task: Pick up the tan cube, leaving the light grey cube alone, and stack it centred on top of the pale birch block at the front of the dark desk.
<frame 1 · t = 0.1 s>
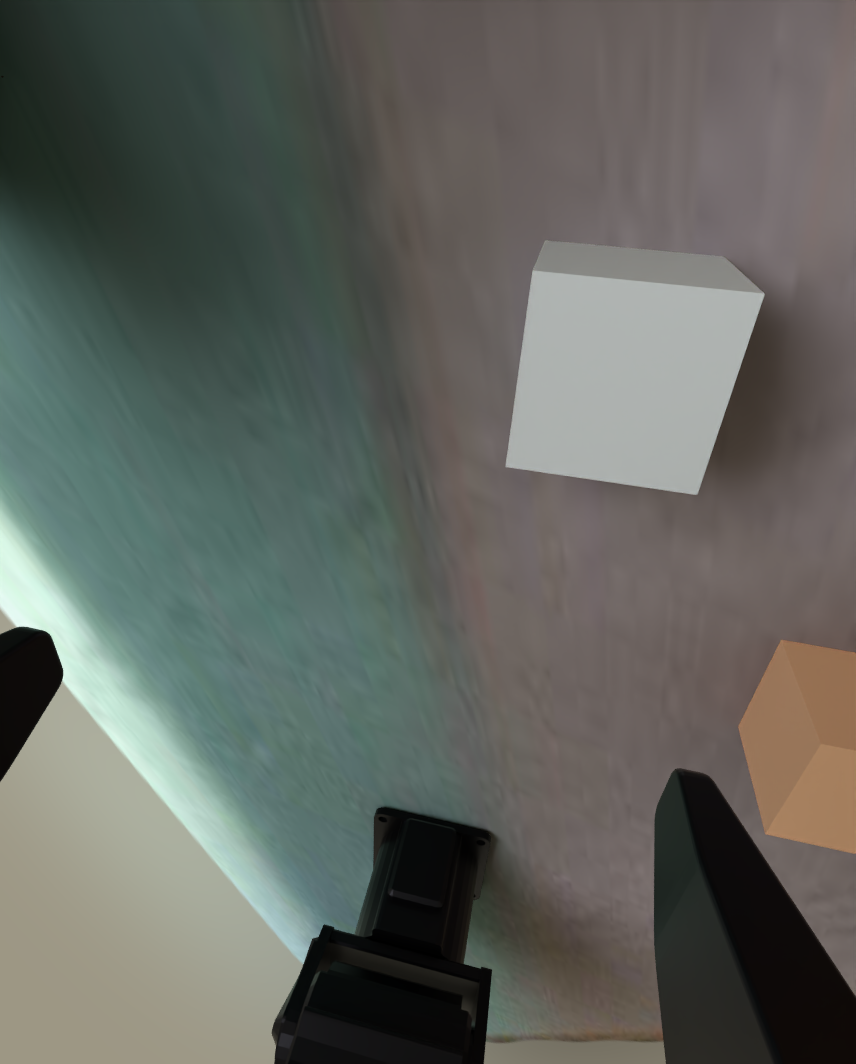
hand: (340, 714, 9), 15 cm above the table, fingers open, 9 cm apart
tan cube: (824, 696, 25), on the table
light grey cube: (613, 335, 19), on the table
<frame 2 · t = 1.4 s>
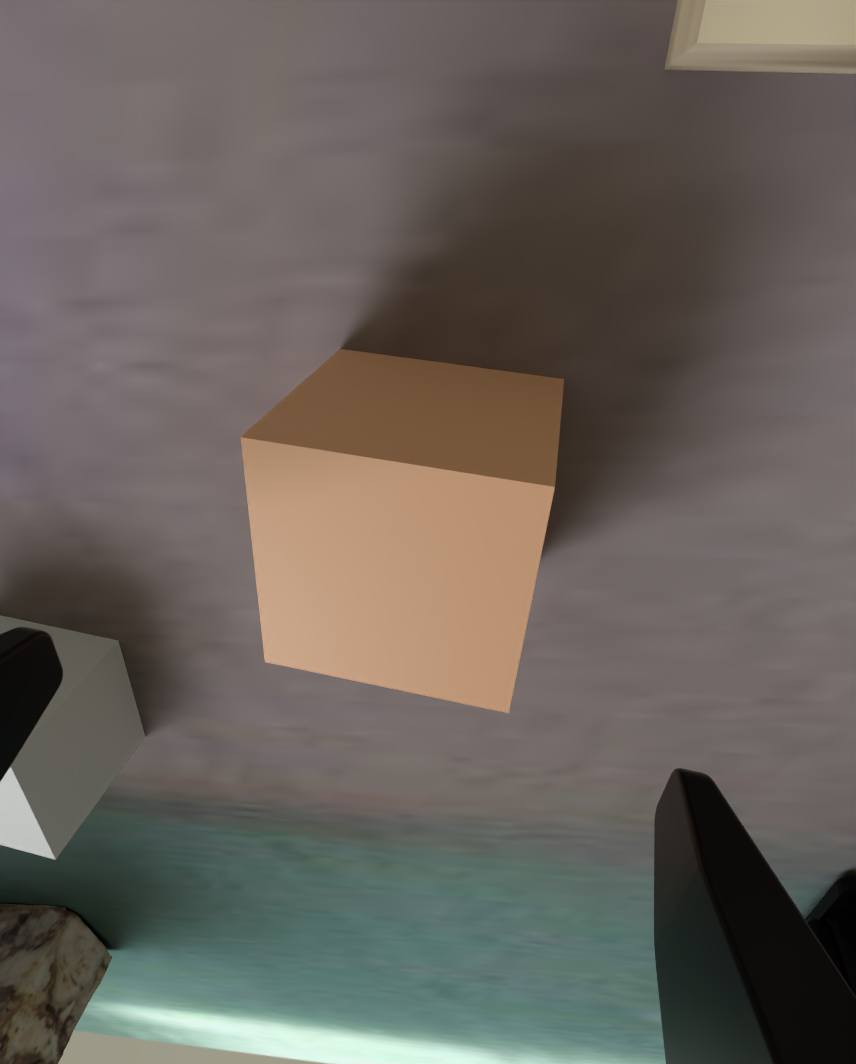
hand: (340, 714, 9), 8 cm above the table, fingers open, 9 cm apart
tan cube: (441, 463, 15), on the table
light grey cube: (72, 675, 23), on the table
stone block: (23, 921, 38), on the table
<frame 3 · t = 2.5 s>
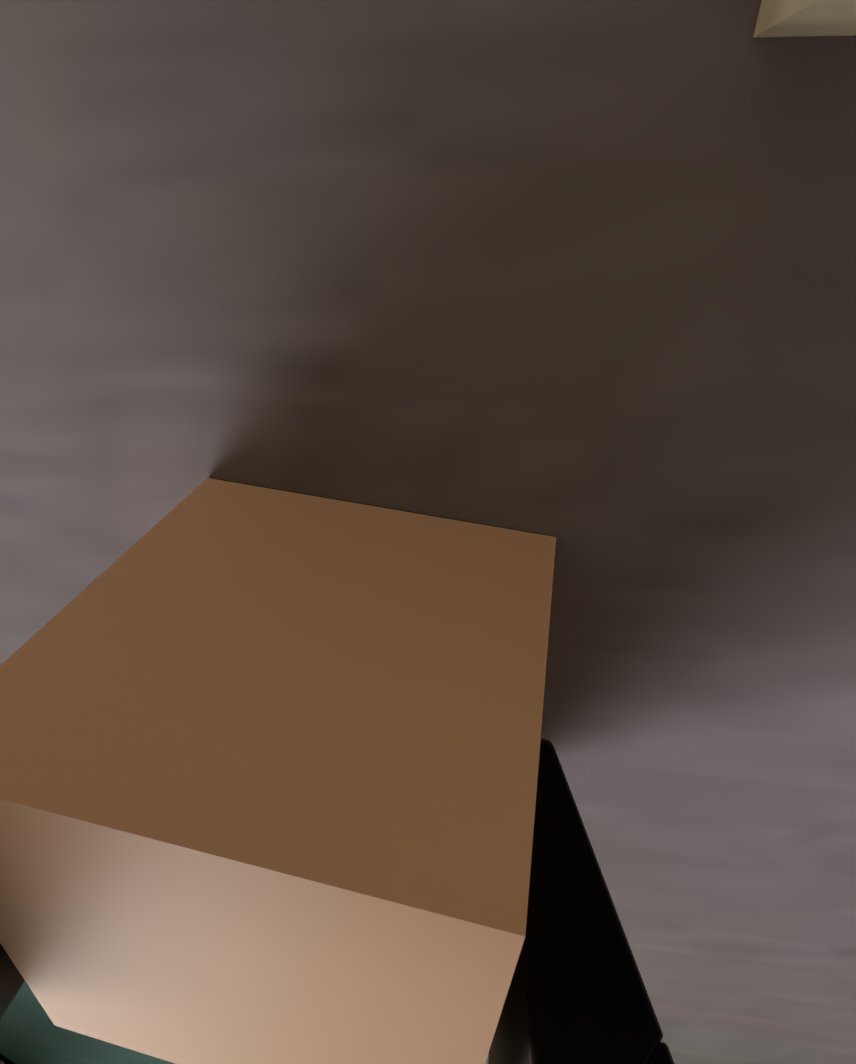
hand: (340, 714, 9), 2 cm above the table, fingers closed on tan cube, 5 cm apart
tan cube: (371, 639, 10), on the table, touching gripper
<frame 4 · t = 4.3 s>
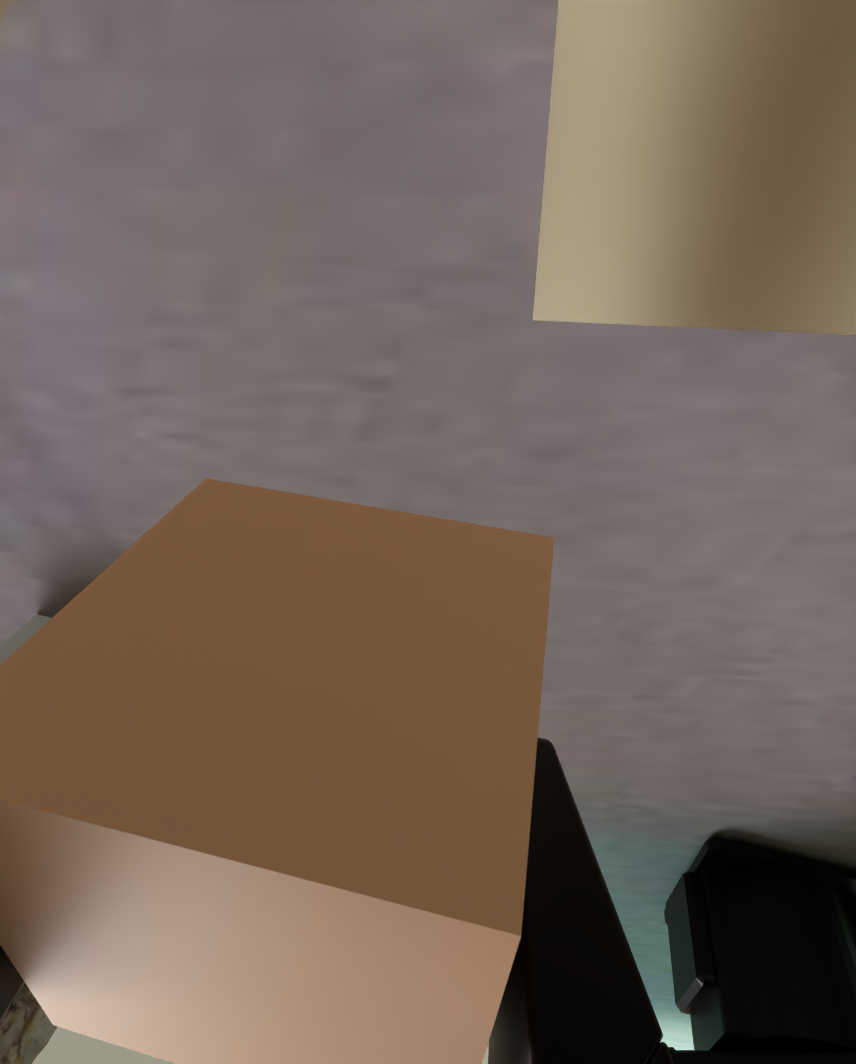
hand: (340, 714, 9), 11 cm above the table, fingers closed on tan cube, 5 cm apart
birch block: (755, 86, 13), on the table
tan cube: (370, 640, 10), point 10 cm above the table, touching gripper
light grey cube: (101, 666, 28), on the table
stone block: (39, 883, 43), on the table
when the fingers open (7 cm above the table, at t = 5.9 s): tan cube drops 2 cm, resting on birch block.
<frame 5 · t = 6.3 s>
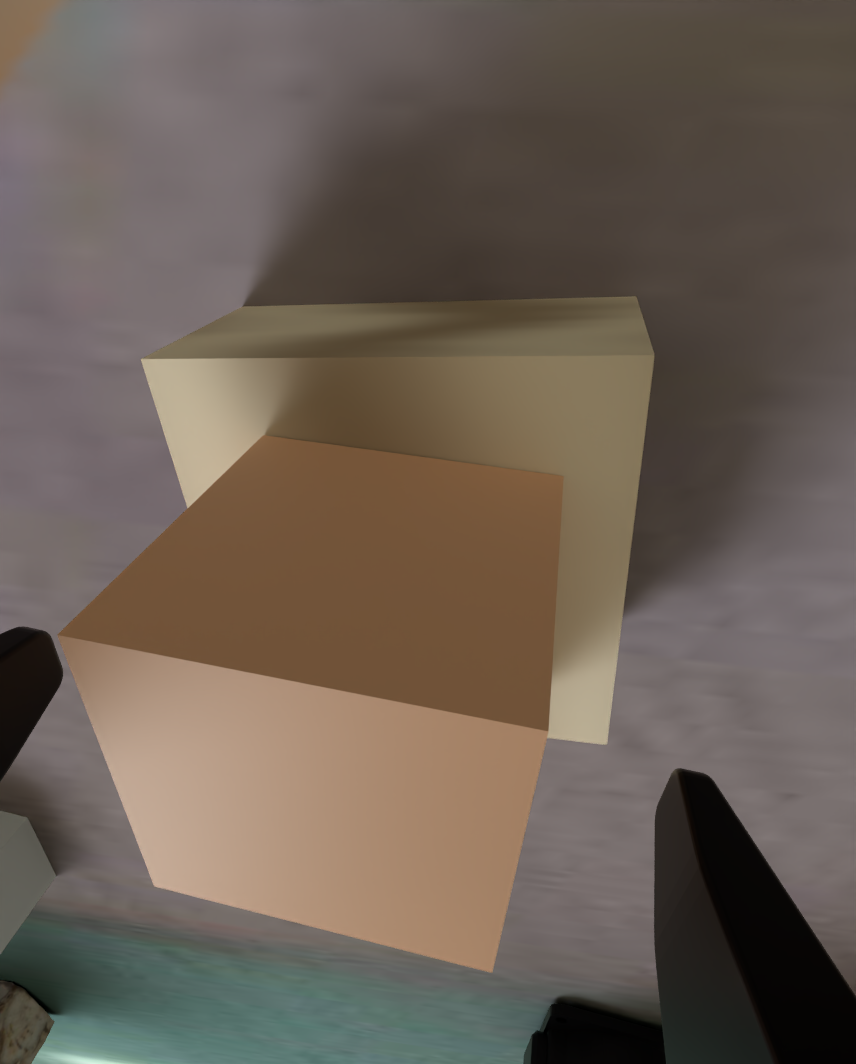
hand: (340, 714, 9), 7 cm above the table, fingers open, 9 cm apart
birch block: (440, 474, 15), on the table, touching tan cube
tan cube: (404, 576, 12), point 4 cm above the table, touching birch block
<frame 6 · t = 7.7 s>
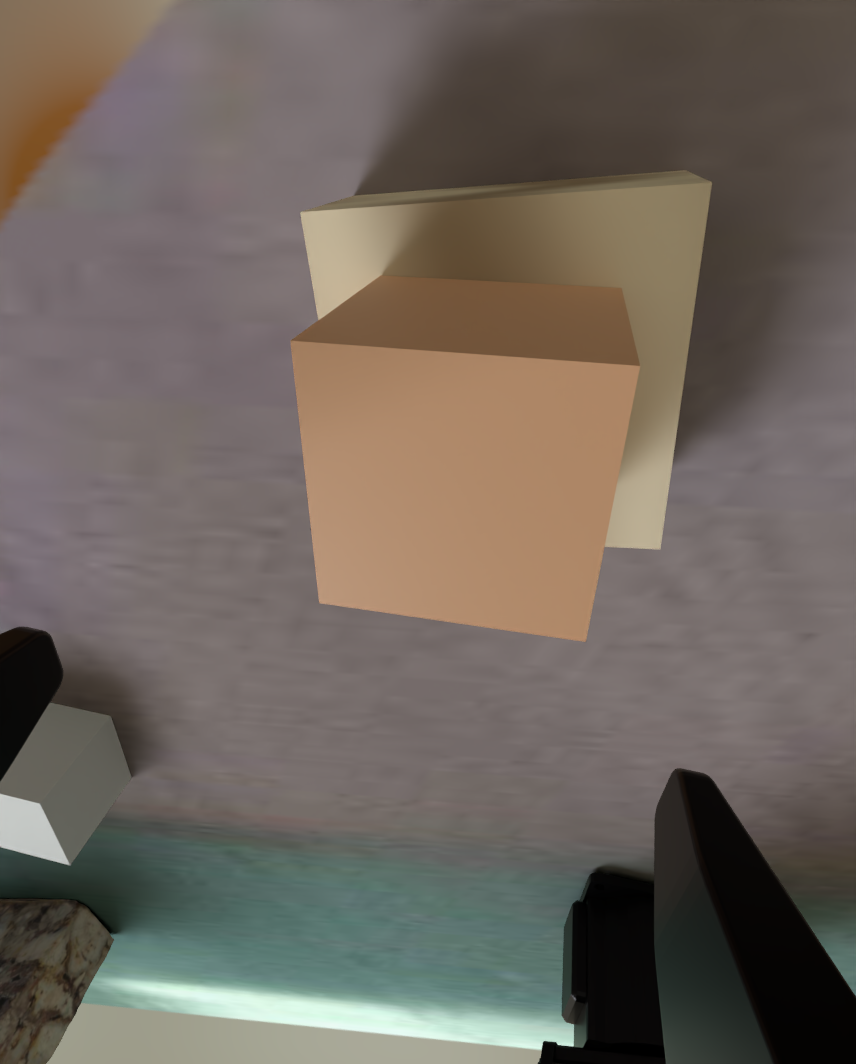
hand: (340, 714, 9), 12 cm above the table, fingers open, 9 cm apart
birch block: (512, 344, 18), on the table
tan cube: (489, 396, 14), point 4 cm above the table
light grey cube: (79, 736, 33), on the table
stone block: (43, 912, 48), on the table
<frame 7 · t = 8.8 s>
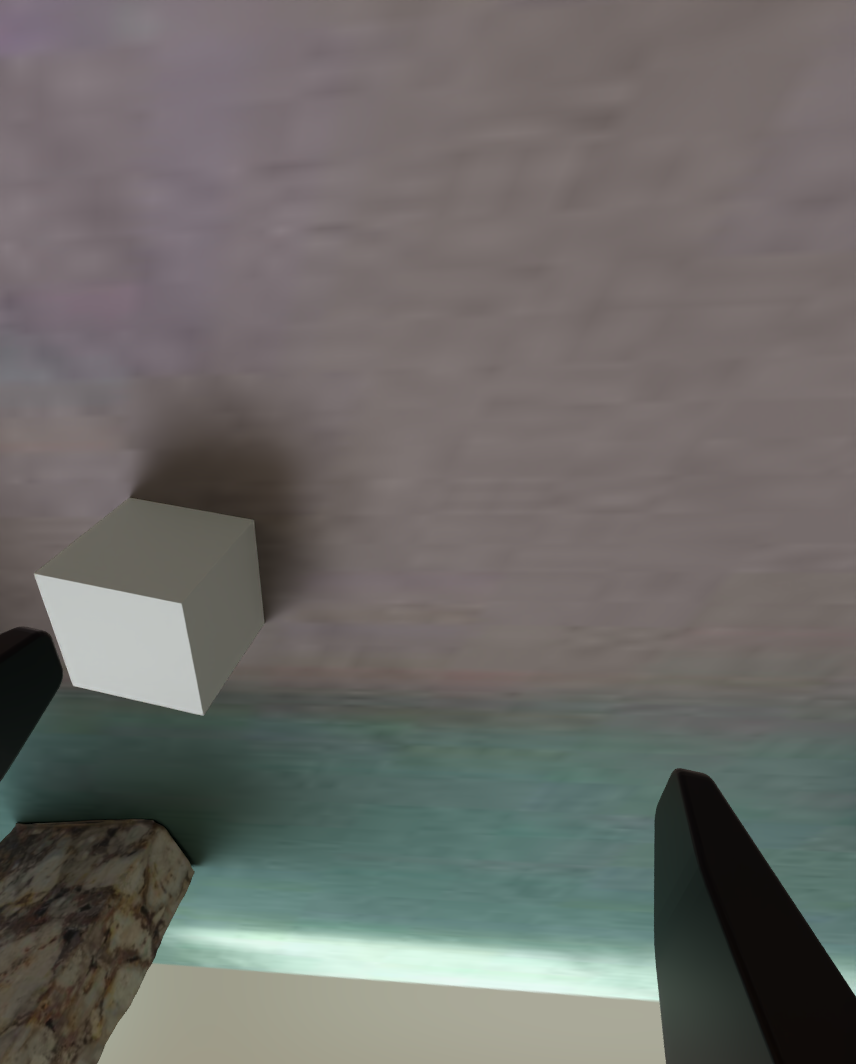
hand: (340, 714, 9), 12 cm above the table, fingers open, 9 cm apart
light grey cube: (200, 561, 25), on the table
stone block: (105, 841, 39), on the table
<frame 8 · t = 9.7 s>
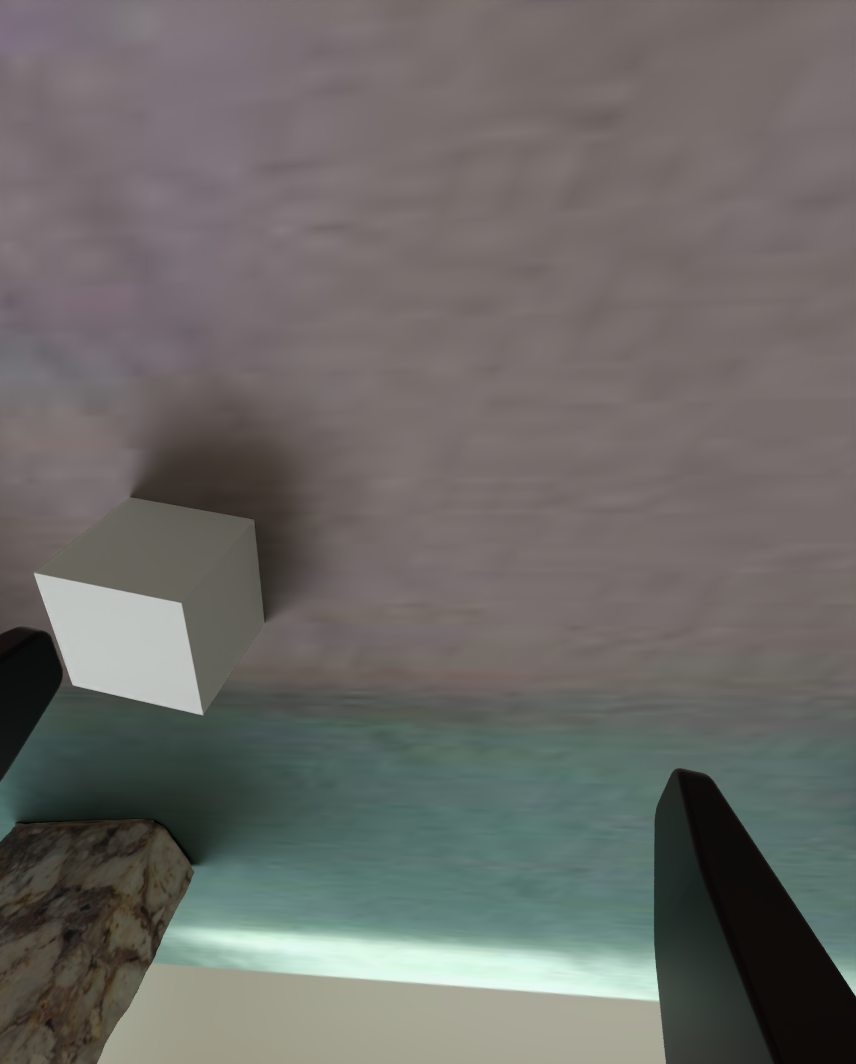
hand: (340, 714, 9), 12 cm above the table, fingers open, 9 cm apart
light grey cube: (200, 561, 25), on the table
stone block: (105, 840, 39), on the table
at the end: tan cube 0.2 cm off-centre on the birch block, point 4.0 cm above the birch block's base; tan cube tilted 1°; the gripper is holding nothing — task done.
